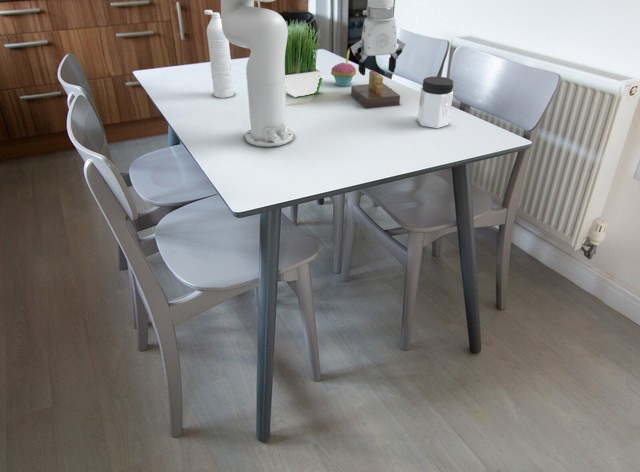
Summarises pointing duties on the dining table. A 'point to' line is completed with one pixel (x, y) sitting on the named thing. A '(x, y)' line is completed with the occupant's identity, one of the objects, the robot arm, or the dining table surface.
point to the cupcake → (343, 72)
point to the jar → (435, 102)
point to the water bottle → (219, 57)
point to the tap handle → (375, 82)
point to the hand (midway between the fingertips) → (376, 72)
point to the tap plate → (375, 96)
